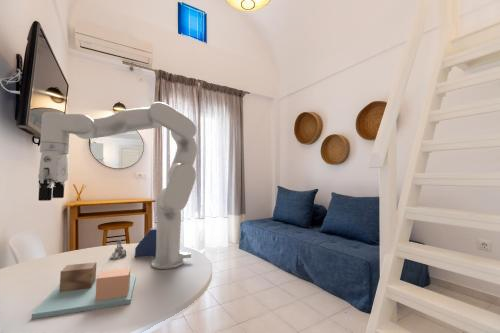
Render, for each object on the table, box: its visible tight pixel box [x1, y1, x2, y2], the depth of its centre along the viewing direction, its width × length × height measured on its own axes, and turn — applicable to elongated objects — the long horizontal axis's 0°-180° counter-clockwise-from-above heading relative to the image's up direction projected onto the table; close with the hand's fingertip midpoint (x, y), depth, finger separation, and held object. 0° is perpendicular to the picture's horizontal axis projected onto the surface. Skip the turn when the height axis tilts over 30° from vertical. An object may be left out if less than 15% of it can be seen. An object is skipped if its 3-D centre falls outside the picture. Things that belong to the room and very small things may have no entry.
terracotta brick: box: [95, 267, 131, 301], centre depth 69 cm, size 8×6×6 cm
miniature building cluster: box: [108, 239, 127, 260], centre depth 104 cm, size 9×9×8 cm
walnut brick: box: [59, 262, 97, 292], centre depth 74 cm, size 8×6×6 cm
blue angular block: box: [134, 227, 157, 258], centre depth 112 cm, size 12×12×12 cm
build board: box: [31, 274, 137, 320], centre depth 71 cm, size 22×18×1 cm
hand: (51, 199), depth 80 cm, fingers open, 9 cm apart
